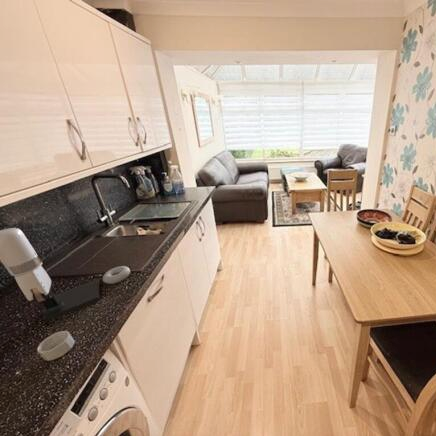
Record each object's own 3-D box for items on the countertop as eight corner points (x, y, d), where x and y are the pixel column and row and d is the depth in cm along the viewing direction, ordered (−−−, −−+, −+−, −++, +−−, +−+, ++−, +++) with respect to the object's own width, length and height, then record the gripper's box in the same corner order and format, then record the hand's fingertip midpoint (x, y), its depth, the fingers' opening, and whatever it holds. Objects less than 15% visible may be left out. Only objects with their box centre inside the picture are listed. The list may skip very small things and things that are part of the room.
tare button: (49, 313, 84) (47, 310, 84) (50, 309, 86) (48, 306, 86) (58, 309, 86) (56, 306, 85) (59, 305, 87) (57, 302, 87)
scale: (44, 322, 83) (40, 316, 82) (50, 300, 93) (46, 294, 92) (100, 300, 91) (96, 294, 90) (99, 281, 101) (96, 276, 100)
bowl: (38, 359, 70) (30, 350, 68) (63, 338, 76) (57, 329, 75) (56, 363, 68) (49, 354, 67) (81, 341, 75) (75, 332, 73)
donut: (105, 277, 105) (103, 289, 97) (101, 270, 103) (100, 282, 95) (131, 268, 109) (131, 279, 102) (128, 261, 108) (128, 272, 100)
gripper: (14, 259, 81) (42, 299, 89) (1, 281, 70) (35, 325, 78) (43, 251, 85) (68, 290, 93) (36, 270, 74) (64, 313, 82)
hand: (53, 306), depth 85 cm, fingers closed
